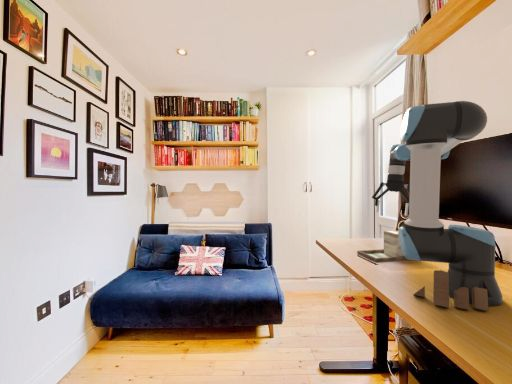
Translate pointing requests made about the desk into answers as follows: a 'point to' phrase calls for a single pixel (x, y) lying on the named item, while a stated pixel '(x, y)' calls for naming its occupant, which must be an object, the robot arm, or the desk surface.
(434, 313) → the desk surface
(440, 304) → the wooden block set
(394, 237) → the birch block
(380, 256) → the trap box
